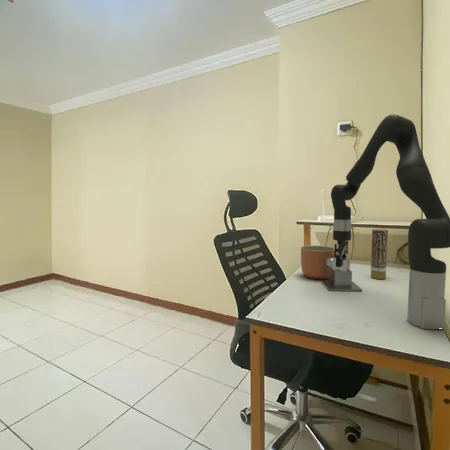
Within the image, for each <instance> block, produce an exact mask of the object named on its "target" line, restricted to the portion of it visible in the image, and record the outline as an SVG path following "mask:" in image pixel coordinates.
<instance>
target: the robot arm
mask: <svg viewBox="0 0 450 450" xmlns="http://www.w3.org/2000/svg"><path fill="white" fill-rule="evenodd" d="M386 142H389V143H392V144H394V145H395V148H396V150H397V152H398V154H399V159H398V162H397V166H396V170H395V175H396V178H397V181H398V184H399V188H400V190H401V191H402V193H403V194H404V195H405V196H406V197H407V198H408V199H409V200H410V201H412V202H413V203H414V204H415V205H416V206H417V207H418V208H419V209H420V210H421V212H422V213H423V214H424V218H416V219H414V220H413V221H411V223H410V225H409V228H408V231H407V232H408V233H407V243H408V244H407V245H408V247H407V249H408V250H407V253H408V254H407V256H408V261H409V274H408V275H409V276H408V277H409V278H408V300H407V316H406V317H407V318H406V319H407V322H408V323H409V324H411V325H413V326H416V327H418V328H420V329H422V330H436V329H439V328H442V329H443V330H442V331H444V330H445V321H446V319H445V318H446V304H447V303H446V301H447V300H446V299H445V295H446V291H445V290H446V277H447V276H446V275H447V264H446V262H445V261H443V260H440V259H437V258H436V257H433V256H432V252H431V251H432V249H434V250H435V249H437V250H439V249H449V248H450V216H449V214H448V211H447V210H446V208H445V206H444V204H443V202H442V201H441V198H440V196H439V193H438V191H437V189H436V186H435V184H434V181H433V178H432V174H431V172H430V169H429V167H428V165H427V162H426V160H425V156H424V154H423V151H422V148H421V146H420V143H419V139H418V132H417V129H416V125H415V123H414V122H413V121H412V120H411V119H409V118H407V117H404V116H402V115H398V114H395V113H391V114H388V115H387V116H385V117H384V118H383V119H382V121H380V122H379V124H378V126H377V128H376V130H375V131H374V132H373V134H372V135H371V138H370V140H369V141H368V143H367V145H366V147H365V148H364V150H363V153H362V154H361V155H360V157H359V158H358V159H357V161H356V163H354V165H353V166H352V168H351V169H350V170H349V172H348V173H347V174H346V176H345V178H346V179H345V180H346V181H347V182H346V183H345V184H335V185H334V186H333V187H332V188H331V192H330V198H331V204H332V208H333V211H334V212H333V213H334V214H333V224H332V240H333V241H337V242H336V243H334V257H335V258H336V267H341V261H342V257H344V258H347V256H348V254H349V241H351V240H352V220H351V219H352V209H351V207H350V206H349V205H347V203H346V201H347V202H348V201H351V200H352V199H354V198H355V196H356V195H357V193H358V192H359V190H360V188H361V186H362V184H363V182H365V180H366V179H367V178H368V177H369V175H371V173H372V172H373V169H374V166H375V164H376V158H377V156H378V153H379V151H380V149H381V148H382V146H384V144H385V143H386Z"/></svg>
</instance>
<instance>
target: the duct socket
mask: <svg viewBox="0 0 450 450" xmlns="http://www.w3.org/2000/svg"><path fill="white" fill-rule="evenodd" d="M320 282H321V284H322V285H323V286H324V287H325V288H326V290H327V291H328V292H346V293H347V292H348V293H350V292H353V293H354V292H355V293H363V289H362V288H361V287H360V286H359V285H358V284H356V283H355V281H353V271H352V270H351V269H349V270H348V271H347V272H345V271H336V270H332V268H331V277H330V279H320Z"/></svg>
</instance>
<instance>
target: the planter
mask: <svg viewBox="0 0 450 450" xmlns="http://www.w3.org/2000/svg"><path fill="white" fill-rule="evenodd" d="M334 248H335V246H328V245H316V244H315V245H313V244H311V245H303V246H300V266H301V271H302V273H303V274H304V276H305V277H307V278H310V279H313V280H328V279H330V278H331V267H326V259H327V258H335V257H334Z"/></svg>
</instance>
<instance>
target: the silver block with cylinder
mask: <svg viewBox="0 0 450 450" xmlns="http://www.w3.org/2000/svg"><path fill="white" fill-rule="evenodd" d="M326 267H331V268H332V270H336V271H345V272H347V271H348V270H351V258H350V257H346V258H344V257H342V261H341V267H336V258H327V259H326Z"/></svg>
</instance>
